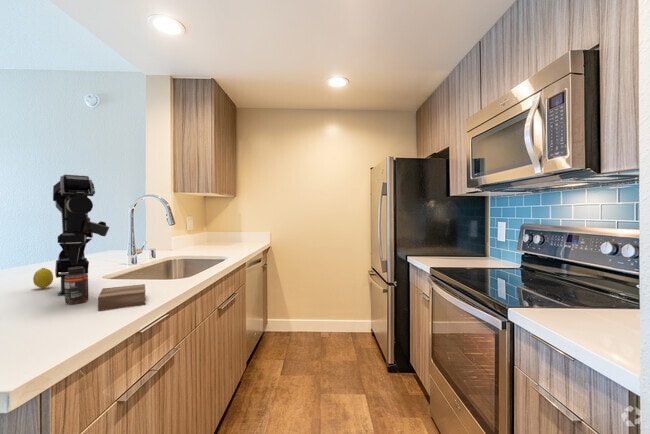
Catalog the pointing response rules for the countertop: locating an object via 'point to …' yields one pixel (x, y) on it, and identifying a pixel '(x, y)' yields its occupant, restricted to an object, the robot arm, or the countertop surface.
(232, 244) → the countertop surface
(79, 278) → the supplement bottle
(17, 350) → the countertop surface
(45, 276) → the lemon
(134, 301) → the walnut block
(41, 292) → the countertop surface
